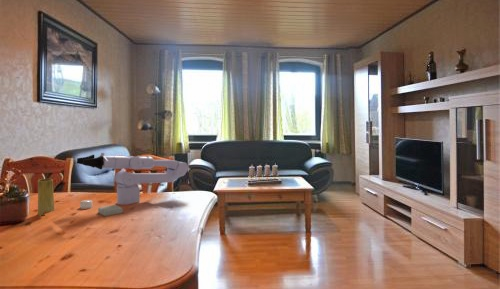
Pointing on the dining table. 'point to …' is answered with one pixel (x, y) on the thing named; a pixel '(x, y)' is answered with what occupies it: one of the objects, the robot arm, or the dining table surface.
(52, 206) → the vase
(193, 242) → the dining table surface
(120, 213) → the tower base
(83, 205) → the white rounded dome
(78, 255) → the dining table surface
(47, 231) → the dining table surface
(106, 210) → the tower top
